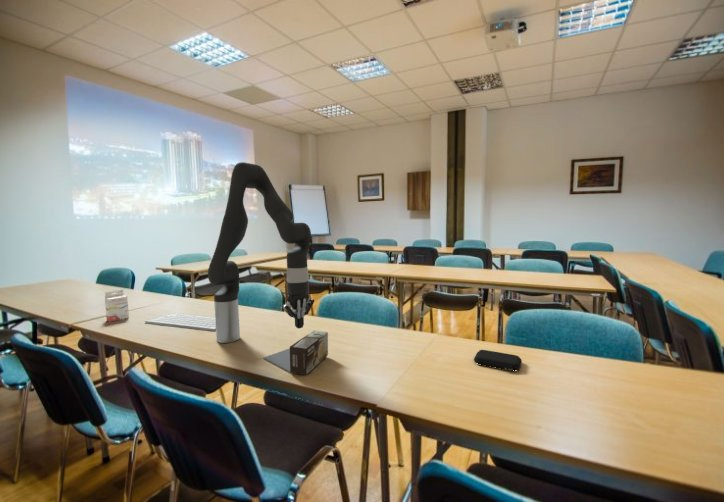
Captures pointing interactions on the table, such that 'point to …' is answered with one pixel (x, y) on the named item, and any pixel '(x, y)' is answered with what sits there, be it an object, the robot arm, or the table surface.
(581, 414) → the table surface
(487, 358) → the carrying case or bag
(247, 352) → the table surface
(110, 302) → the ink cartridge box
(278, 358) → the dark rubber mat
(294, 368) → the coffee box
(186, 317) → the computer keyboard
